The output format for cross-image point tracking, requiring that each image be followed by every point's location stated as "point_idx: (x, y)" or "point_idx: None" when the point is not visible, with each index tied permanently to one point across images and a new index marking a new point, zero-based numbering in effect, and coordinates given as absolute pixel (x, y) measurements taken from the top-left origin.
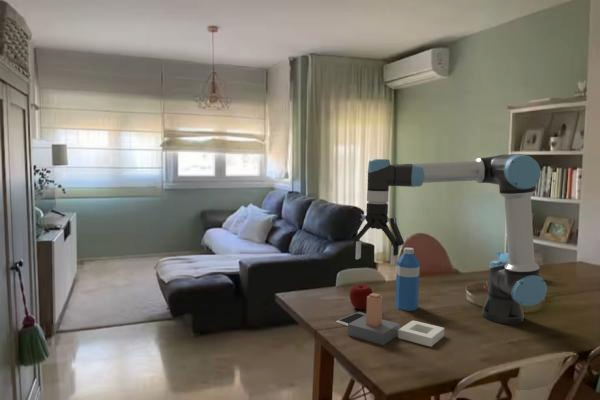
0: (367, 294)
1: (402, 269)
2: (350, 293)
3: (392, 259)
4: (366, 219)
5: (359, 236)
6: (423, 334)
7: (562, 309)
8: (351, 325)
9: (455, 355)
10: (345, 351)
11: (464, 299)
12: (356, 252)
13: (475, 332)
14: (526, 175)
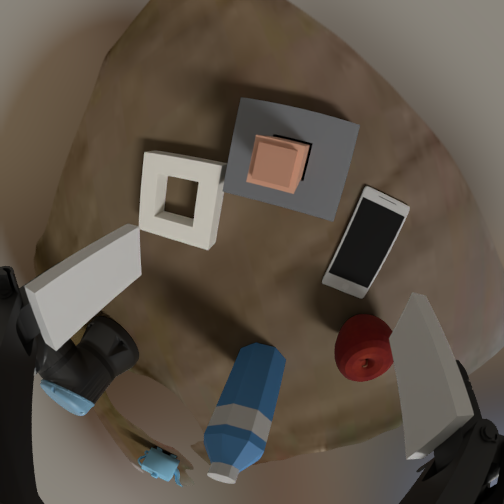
0: (346, 340)
1: (245, 423)
2: None
3: (101, 238)
4: None
5: (451, 482)
6: (162, 164)
7: None
8: (347, 121)
9: (115, 137)
10: (321, 32)
11: (183, 401)
12: (436, 330)
13: None
14: None
